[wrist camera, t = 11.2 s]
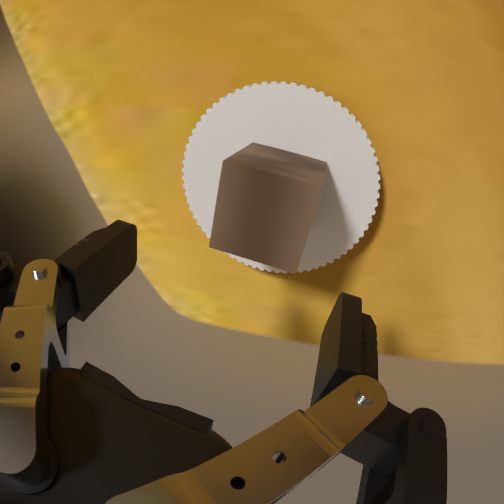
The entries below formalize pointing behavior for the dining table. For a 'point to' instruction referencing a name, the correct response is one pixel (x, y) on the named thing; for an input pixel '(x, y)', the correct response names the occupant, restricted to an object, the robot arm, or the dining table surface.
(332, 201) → the plastic lid
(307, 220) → the walnut block
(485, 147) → the dining table surface
